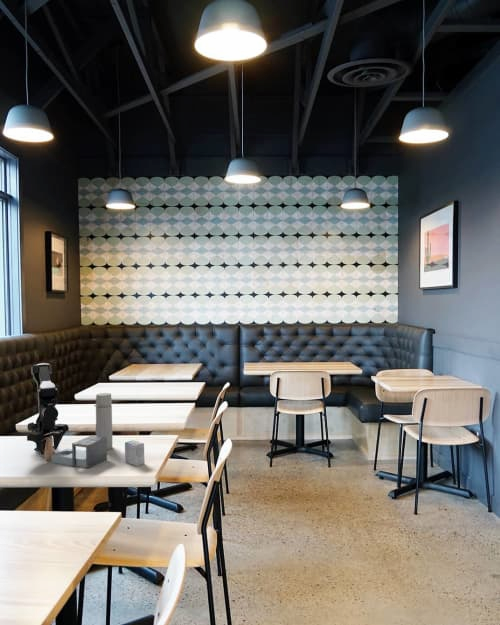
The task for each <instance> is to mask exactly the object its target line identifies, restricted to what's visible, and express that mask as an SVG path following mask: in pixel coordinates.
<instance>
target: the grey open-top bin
mask: <svg viewBox="0 0 500 625" xmlns="http://www.w3.org/2000/svg"><path fill="white" fill-rule="evenodd" d="M77 447H80V448H85V451H86V467H85V468H86V469H91V468H93V467H94V466H97V465H99V464H101V463H103V462H105V461H107V460H108V450H107V437H98V436H96V435H89V436H87V437H84V438H81V439H80V440H77V441H74V442H72V443H71V449H72V465H71V466H72V467H77V466H76V450H77Z"/></svg>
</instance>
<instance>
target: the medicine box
mask: <svg viewBox="0 0 500 625" xmlns="http://www.w3.org/2000/svg"><path fill="white" fill-rule="evenodd" d="M124 458H125V463H126V464H129V465H133V466H135V467H138V466H142V465H144V464H145V444H144V443H143V442H140V441H137V440H134V439H133V440H128V441H125V442H124Z"/></svg>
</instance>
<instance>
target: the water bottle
mask: <svg viewBox="0 0 500 625" xmlns="http://www.w3.org/2000/svg"><path fill="white" fill-rule="evenodd" d="M95 396H96V397H95V405H94V407H95V436H98V437H107V451H108V450H110V449H112V448H113V408H112V407H113V405H112V404H113V399H112V393H111V392H99V393H97V394H96V395H95Z"/></svg>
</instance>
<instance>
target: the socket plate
mask: <svg viewBox="0 0 500 625" xmlns="http://www.w3.org/2000/svg"><path fill="white" fill-rule="evenodd" d="M50 462H51V463H53V464H60V465H61V464H62V465H68V466H72V448H65V449H64V450H60V451H58V452H56V453H53V455H51V460H50ZM75 467H82V468H83V467H84V468H86V450H82V449H76V466H75Z"/></svg>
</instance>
